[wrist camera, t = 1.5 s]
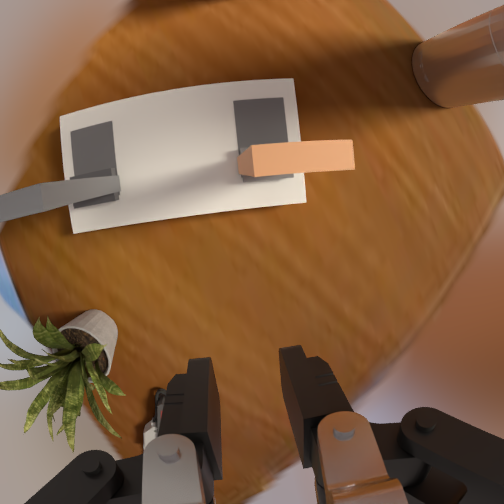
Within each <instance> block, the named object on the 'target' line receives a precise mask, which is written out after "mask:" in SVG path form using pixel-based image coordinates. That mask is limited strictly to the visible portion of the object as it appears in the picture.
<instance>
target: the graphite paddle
mask: <svg viewBox="0 0 504 504" xmlns="http://www.w3.org/2000/svg"><path fill="white" fill-rule="evenodd" d="M120 191H121V187H120V179H119V175H116V171H115V168H109V169H104V170H99V171H95V172H90V173H86V174H81V175H77V176H73V177H70V180H64V181H55V182H47V183H40V184H36V185H33V186H29V187H26V188H22V189H19V190H16V191H12V192H9V193H6V194H3V195H0V222H4V221H8V220H11V219H15V218H19V217H23V216H27V215H32V214H36V213H40V212H44V211H48V210H51V209H55V208H58V207H62V206H65V205H69V204H72V203H73V206H74V209H76V208H81V207H86V206H91V205H96V204H101V203H106V202H112V201H116V200H119V194H118V192H120Z"/></svg>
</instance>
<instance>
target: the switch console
mask: <svg viewBox="0 0 504 504" xmlns="http://www.w3.org/2000/svg"><path fill="white" fill-rule="evenodd" d="M60 133H61V147H62V158H63V168H64V177H65V180H70V177H73V176H77V175H81V174H86V173H90V172H95V171H99V170H104V169H109V168H115V171H116V175H119V179H120V187H121V191H120V192H118V194H119V200H116V201H112V202H106V203H101V204H96V205H91V206H86V207H81V208H76V209H74V206H73V203H72V204H69V205H68V206H69V212H70V218H71V223H72V229H73V234H75V233H81V232H87V231H93V230H99V229H105V228H111V227H117V226H124V225H130V224H137V223H143V222H150V221H157V220H164V219H171V218H178V217H185V216H193V215H200V214H208V213H216V212H224V211H232V210H240V209H249V208H258V207H267V206H276V205H286V204H296V203H306V192H305V180H304V173H294V177H293V178H282V179H271V180H261V181H252V182H243V177H242V174H239V171H238V162H237V157H238V156H239V155H240V148H246V147H250V146H251V145H260V144H272V143H285V142H301V138H300V129H299V120H298V111H297V103H296V95H295V87H294V80H293V78H290V79H264V80H248V81H236V82H225V83H216V84H207V85H199V86H192V87H185V88H179V89H172V90H167V91H161V92H155V93H150V94H145V95H140V96H135V97H131V98H126V99H122V100H118V101H113V102H109V103H105V104H102V105H98V106H94V107H90V108H87V109H83V110H80V111H76V112H73V113H70V114H67V115H63V116H60Z"/></svg>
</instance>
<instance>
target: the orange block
mask: <svg viewBox="0 0 504 504" xmlns="http://www.w3.org/2000/svg"><path fill="white" fill-rule="evenodd" d="M237 162H238V171H239V174H242V177H243V182H252V181H261V180H271V179H282V178H293V177H294V173H306V172H320V171H335V170H354V169H355V164H354V152H353V142H352V140H323V141H301V142H285V143H272V144H260V145H251V146H250V147H246V148H240V155H239V156H238V157H237Z"/></svg>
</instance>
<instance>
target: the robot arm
mask: <svg viewBox="0 0 504 504" xmlns="http://www.w3.org/2000/svg"><path fill="white" fill-rule="evenodd" d="M412 67H413V72H414V75H415V78H416V80H417V82H418V84H419V86H420V88H421V89H422V91H423V92H424V93H425V95H426V96H427V97H428V98H429V99H430V100H431V101H433V102H434V103H436V104H437V105H439V106H442V107H445V108H453V107H459V106H465V105H472V104H477V103H484V102H491V101H499V100H504V5H502V6H500V7H497V8H495V9H493V10H490V11H488V12H486V13H483V14H481V15H479V16H476V17H474V18H472V19H470V20H468V21H465V22H463V23H461V24H459V25H457V26H455V27H453V28H450V29H448V30H447V31H444V32H442V33H440V34H438V35H436V36H434V37H432V38H430V39H428V40H426V41H424V42H422V43H421V44H419V45H418V46H417V47H416V48H415V50H414V53H413V56H412ZM279 360H280V373H281V386H282V392H283V397H284V401H285V405H286V409H287V412H288V416H289V419H290V423H291V426H292V430H293V433H294V437H295V441H296V444H297V448H298V451H299V455H300V458H301V462H302V465H303V468H309V467H312V468H313V471H314V474H315V491H316V498H317V504H504V439H502V438H499V437H497V436H495V435H492V434H490V433H488V432H485V431H483V430H481V429H479V428H476V427H474V426H472V425H470V424H467V423H465V422H463V421H461V420H459V419H457V418H454V417H452V416H450V415H448V414H446V413H444V412H442V411H439V410H437V409H434V408H430V407H420V408H415V409H413V410H411V411H409V412H408V413H406V414H405V415H404V417H403V418H402V421H401V423H386V424H376V423H370V422H368V420H367V419H366V418H365V417H364V416H362V415H360V414H358V413H355V412H354V411H353V409H352V408H351V406H350V404H349V402H348V400H347V398H346V396H345V394H344V392H343V391H342V389H341V387H340V385H339V383H337V379H336V377H335V376H334V375H333V372H332V370H331V368H330V366H329V364H328V363H327V362H325V361H324V360H322V359H321V358H320V357H318V356H316V357H310V358H306V356H305V353H304V351H303V349H302V347H301V345H297V346H291V347H285V348H279ZM214 480H223V478H222V452H221V419H220V400H219V393H218V388H217V384H216V379H215V374H214V370H213V365H212V360H211V358H210V357H207V358H197V359H189V362H188V369H187V374H176V375H175V376H174V377H173V378H172V380H171V381H170V382H169V383H168V386H167V391H166V397H165V401H164V406H163V411H162V416H161V421H160V426H159V432H158V437H157V438H155V439H153V440H152V441H150V442H149V443H148V444H147V446H146V447H145V449H144V453H143V454H141V455H139V456H135V457H131V458H127V459H122V460H117V461H115V460H114V458H113V457H112V456H111V455H110V454H108V453H107V452H104V451H101V450H91V451H86V452H84V453H82V454H80V455H78V456H77V457H76V458H75V459H74V460H72V461H71V462H70V463H69V464H68V465H67V466H66V467H65V468H64V469H63V470H61V471H60V472H59V473H58V474H57V475H56V476H55V477H54V478H53V479H52V480H50V481H49V482H48V483H47V484H46V485H45V486H44V487H43V488H41V489H40V490H39V491H38V492H37V493H36V494H35V495H34V496H32V497H31V498H30V499H29V500H28V501H27V502H26V503H24V504H216V501H215V497H214Z"/></svg>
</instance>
